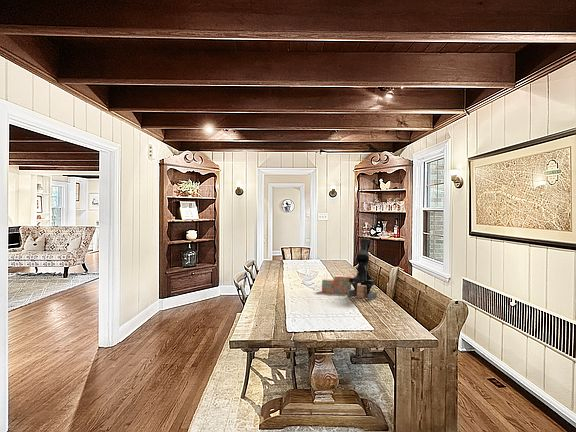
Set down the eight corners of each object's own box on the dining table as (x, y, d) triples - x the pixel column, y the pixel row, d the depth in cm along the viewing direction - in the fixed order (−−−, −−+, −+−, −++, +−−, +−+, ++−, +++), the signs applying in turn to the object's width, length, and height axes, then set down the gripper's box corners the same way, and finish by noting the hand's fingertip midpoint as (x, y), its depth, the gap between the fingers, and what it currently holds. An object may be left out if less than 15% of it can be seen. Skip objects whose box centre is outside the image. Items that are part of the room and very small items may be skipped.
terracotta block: (360, 296, 325) (360, 285, 325) (366, 297, 322) (366, 285, 322) (356, 297, 321) (357, 285, 321) (362, 298, 318) (363, 286, 318)
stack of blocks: (321, 292, 336) (322, 275, 336) (321, 291, 343) (322, 274, 342) (351, 293, 334) (351, 276, 334) (350, 292, 341) (351, 275, 340)
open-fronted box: (355, 294, 332) (355, 288, 331) (376, 297, 321) (376, 291, 321) (347, 296, 323) (347, 290, 323) (368, 299, 312) (368, 294, 312)
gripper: (344, 271, 321) (344, 293, 321) (368, 274, 309) (367, 297, 309) (353, 269, 329) (352, 291, 330) (376, 272, 318) (375, 294, 318)
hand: (361, 293), depth 321 cm, fingers open, 9 cm apart
